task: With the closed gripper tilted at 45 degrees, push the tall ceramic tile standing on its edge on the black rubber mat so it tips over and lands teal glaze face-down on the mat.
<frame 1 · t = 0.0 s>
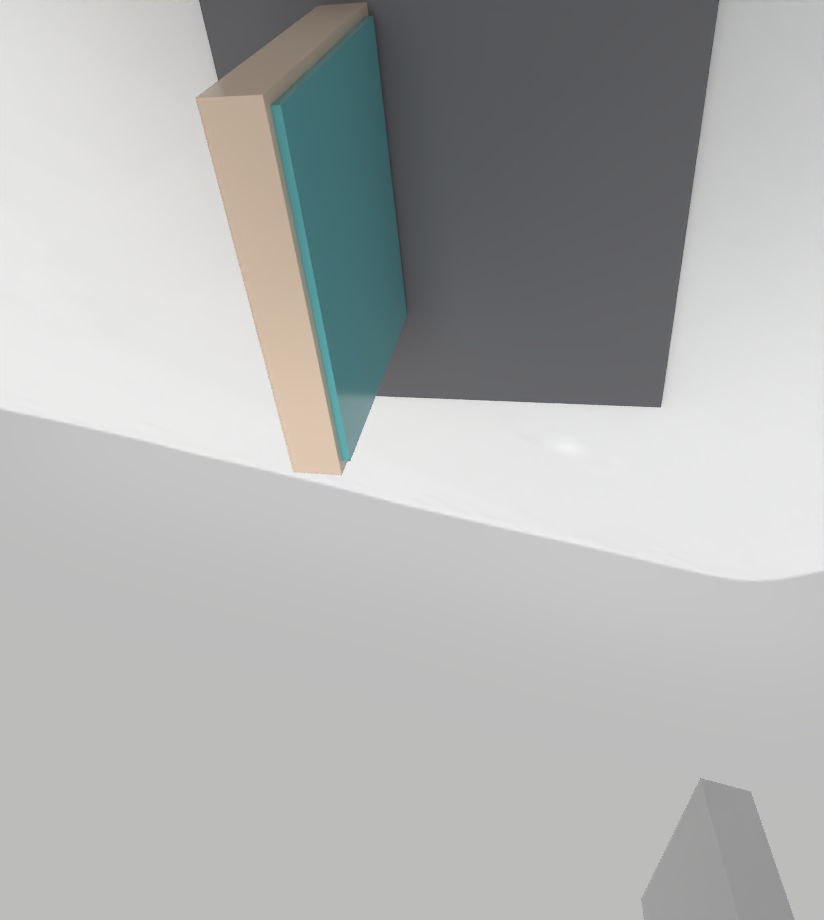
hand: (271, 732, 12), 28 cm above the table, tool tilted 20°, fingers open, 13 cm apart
tile: (366, 181, 35), resting on mat
mat: (455, 175, 34), on the table
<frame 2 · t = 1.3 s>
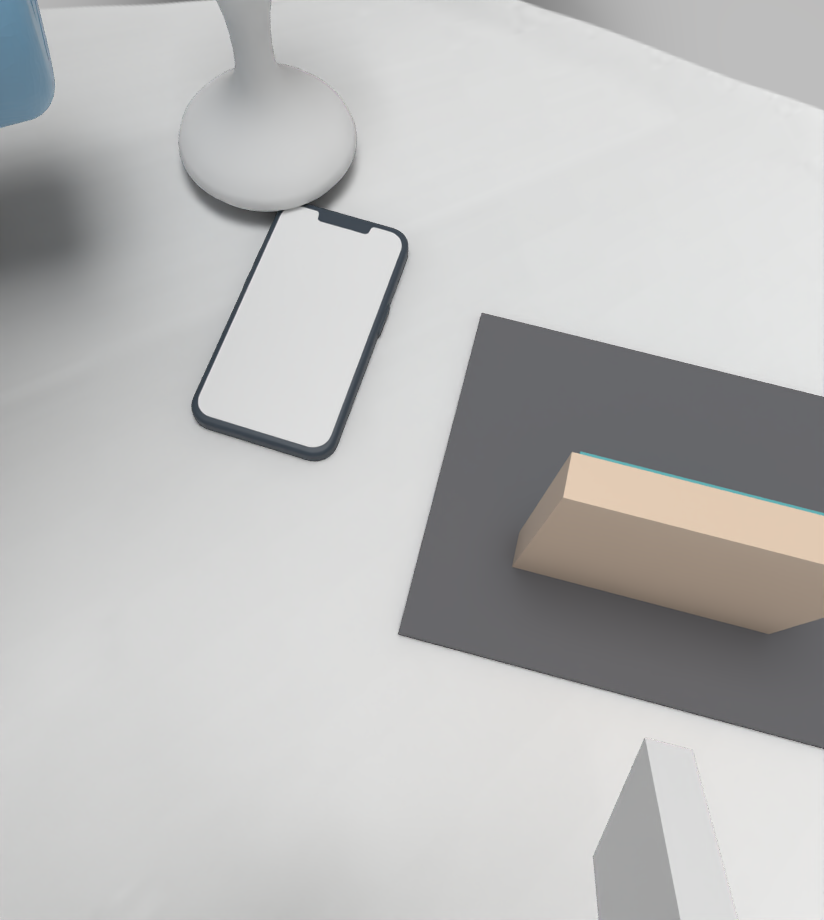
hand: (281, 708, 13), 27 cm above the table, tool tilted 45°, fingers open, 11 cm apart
smartphone: (306, 333, 47), on the table
tile: (642, 582, 41), resting on mat
flower in vase: (274, 149, 51), on the table
mat: (649, 515, 43), on the table
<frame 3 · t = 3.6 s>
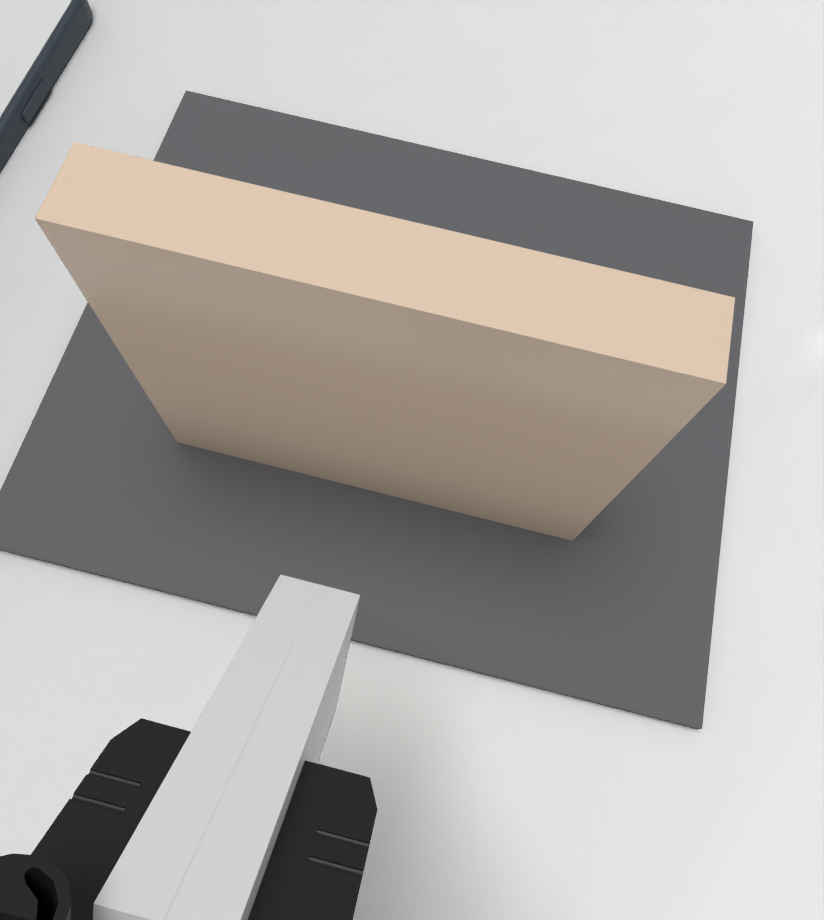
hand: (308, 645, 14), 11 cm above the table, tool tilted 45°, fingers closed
tile: (380, 464, 27), resting on mat
mat: (406, 369, 28), on the table
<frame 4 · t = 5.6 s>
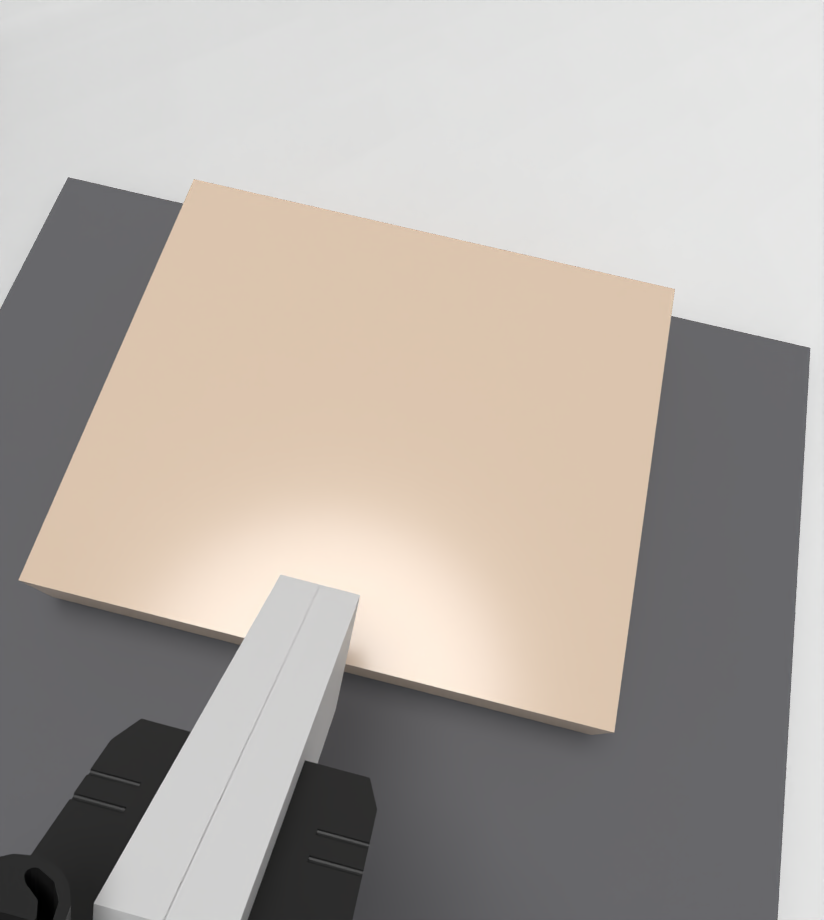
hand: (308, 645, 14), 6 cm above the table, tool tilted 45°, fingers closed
tile: (314, 660, 18), point 2 cm above the table, tilted 90°, touching mat
mat: (346, 566, 21), on the table
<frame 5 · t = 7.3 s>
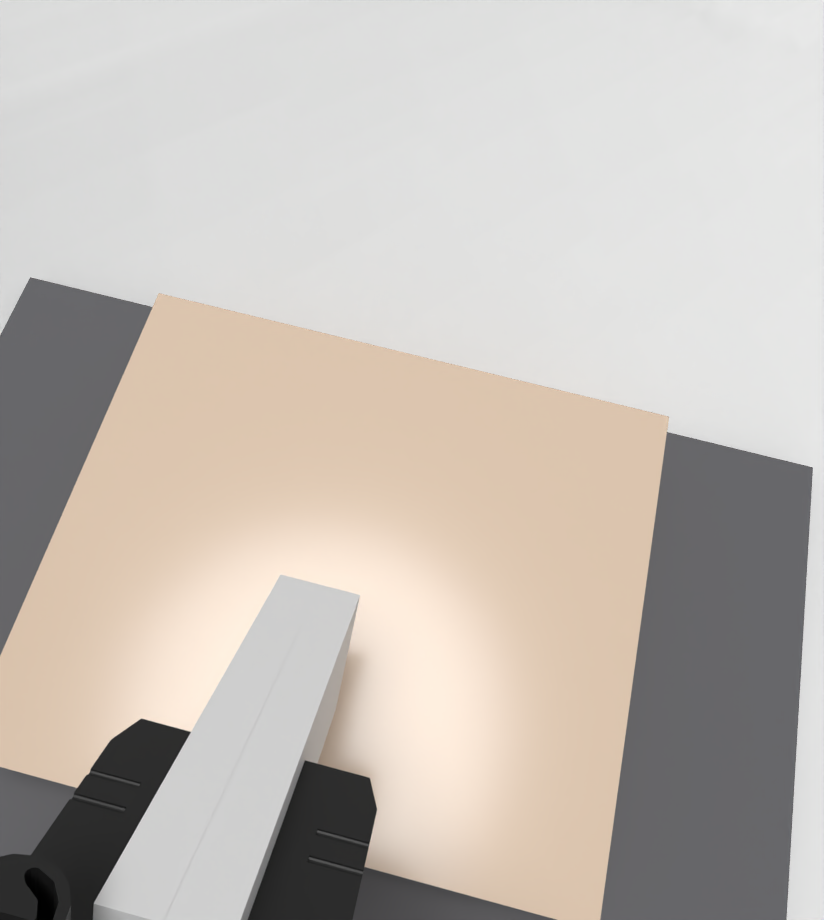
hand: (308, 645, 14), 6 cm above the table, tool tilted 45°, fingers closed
tile: (277, 836, 17), point 2 cm above the table, tilted 90°, touching mat
mat: (317, 713, 20), on the table
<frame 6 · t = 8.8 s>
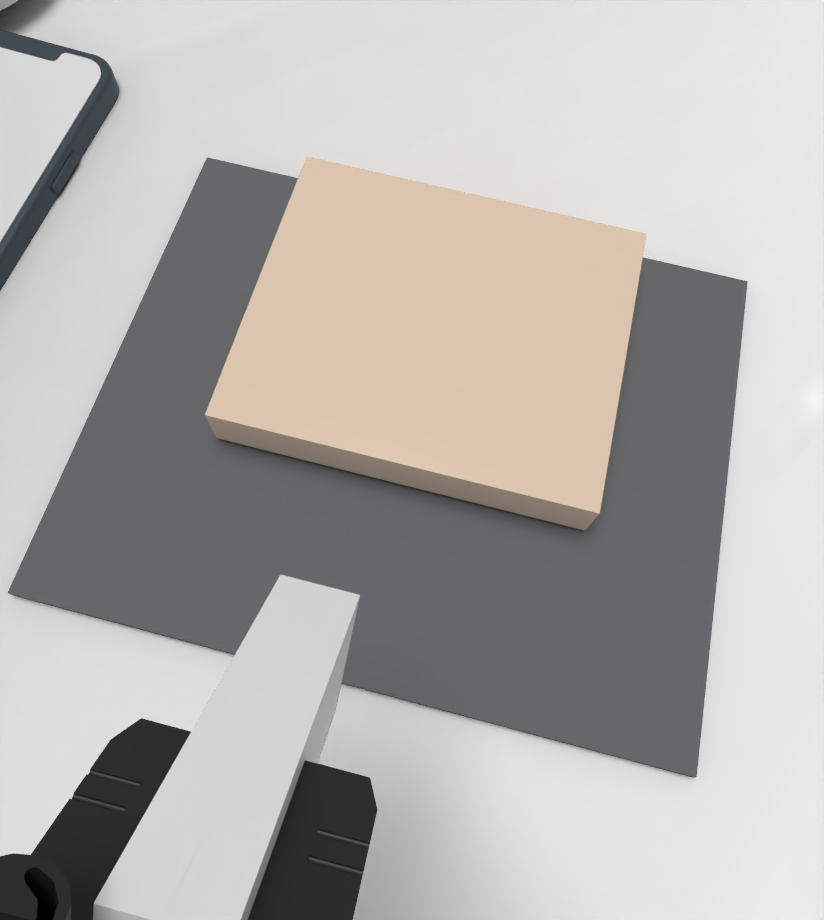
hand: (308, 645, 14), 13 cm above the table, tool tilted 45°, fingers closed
tile: (398, 473, 27), point 2 cm above the table, tilted 90°, touching mat
mat: (414, 425, 30), on the table
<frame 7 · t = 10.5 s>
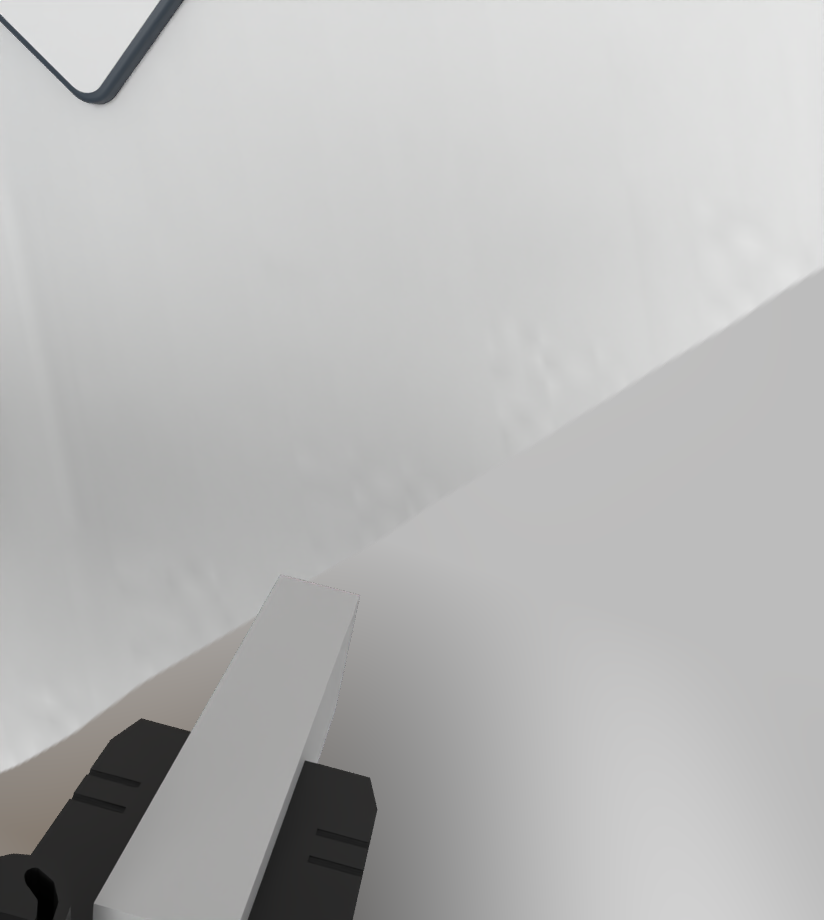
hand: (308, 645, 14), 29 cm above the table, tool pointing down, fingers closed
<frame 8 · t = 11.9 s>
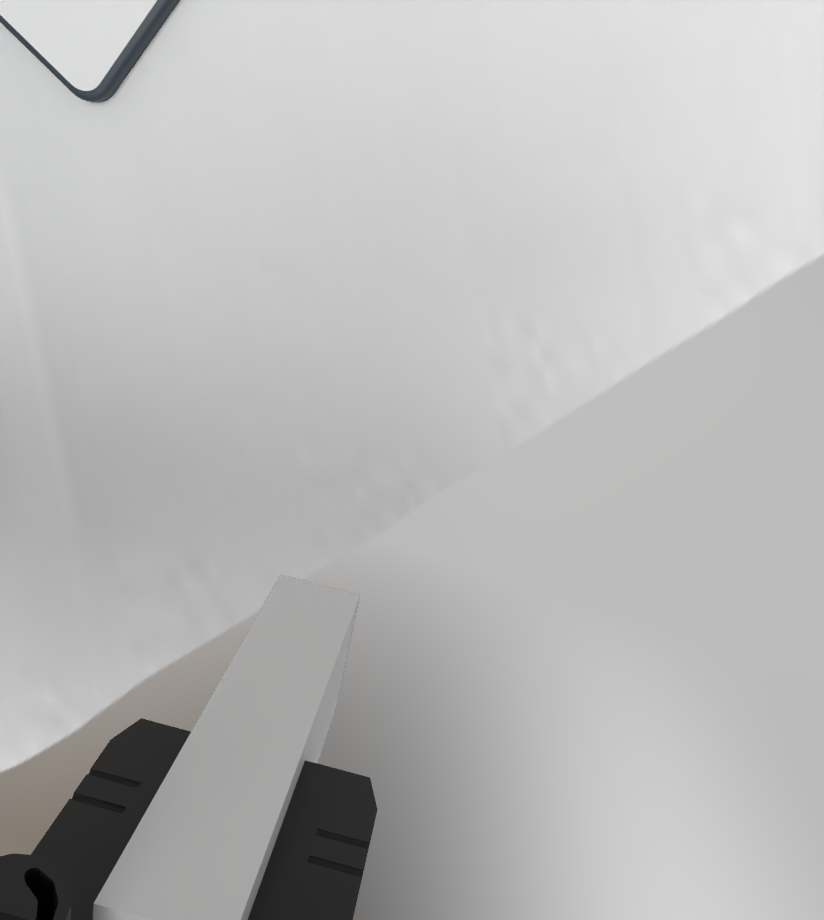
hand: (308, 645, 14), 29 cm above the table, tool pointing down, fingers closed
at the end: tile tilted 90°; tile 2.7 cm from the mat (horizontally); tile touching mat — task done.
